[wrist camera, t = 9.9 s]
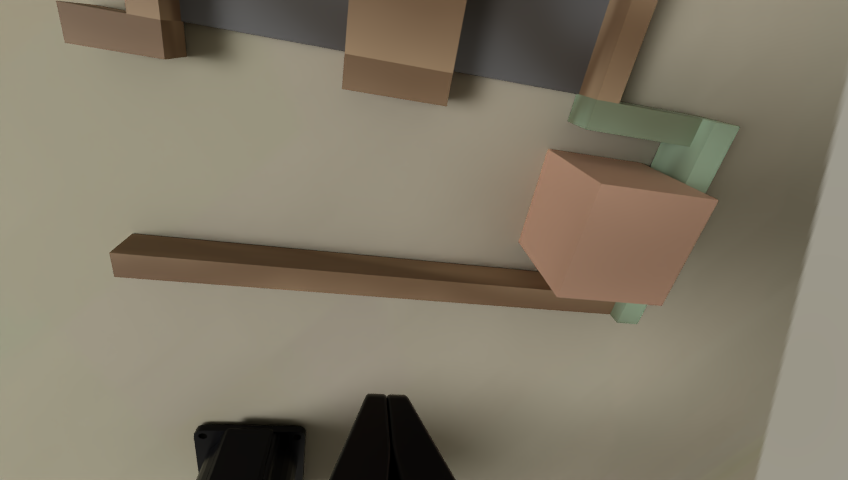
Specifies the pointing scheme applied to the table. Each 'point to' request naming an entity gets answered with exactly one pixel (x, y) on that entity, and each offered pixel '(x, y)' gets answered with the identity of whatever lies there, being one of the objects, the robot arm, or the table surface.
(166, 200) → the table surface
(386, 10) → the trap lane
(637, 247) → the block
